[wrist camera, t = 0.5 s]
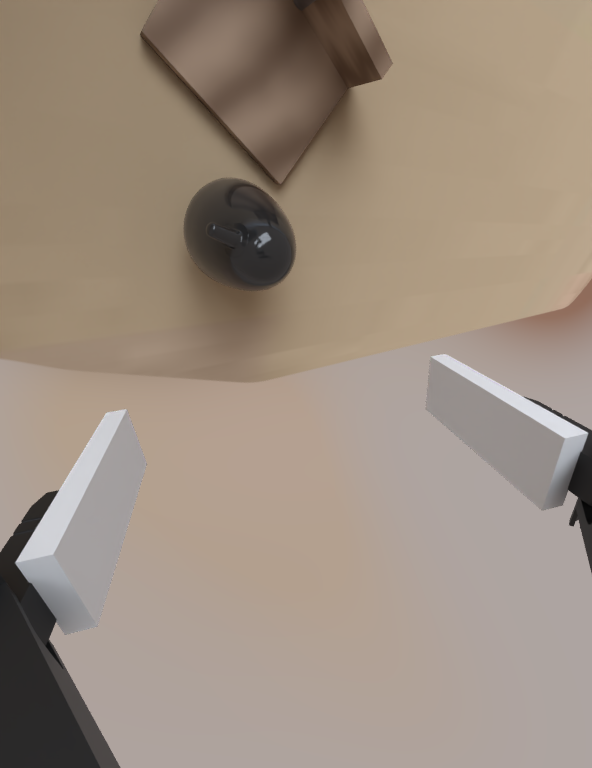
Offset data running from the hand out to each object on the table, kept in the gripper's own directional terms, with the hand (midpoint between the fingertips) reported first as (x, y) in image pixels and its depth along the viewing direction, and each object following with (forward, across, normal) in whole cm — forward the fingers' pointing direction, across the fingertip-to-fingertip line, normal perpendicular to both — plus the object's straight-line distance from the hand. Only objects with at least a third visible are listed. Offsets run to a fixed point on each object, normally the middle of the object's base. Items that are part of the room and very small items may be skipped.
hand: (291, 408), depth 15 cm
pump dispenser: (+30, -1, +7) cm, 31 cm away
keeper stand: (+29, +5, +21) cm, 36 cm away
